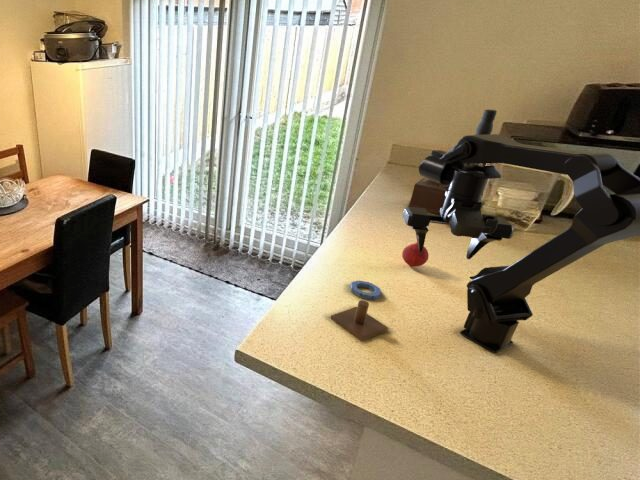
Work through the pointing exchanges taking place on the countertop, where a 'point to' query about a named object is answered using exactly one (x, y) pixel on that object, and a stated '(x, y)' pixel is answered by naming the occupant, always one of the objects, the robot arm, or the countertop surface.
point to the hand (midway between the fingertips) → (443, 254)
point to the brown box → (429, 195)
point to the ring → (365, 295)
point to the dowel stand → (359, 321)
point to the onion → (414, 255)
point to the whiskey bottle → (485, 127)
